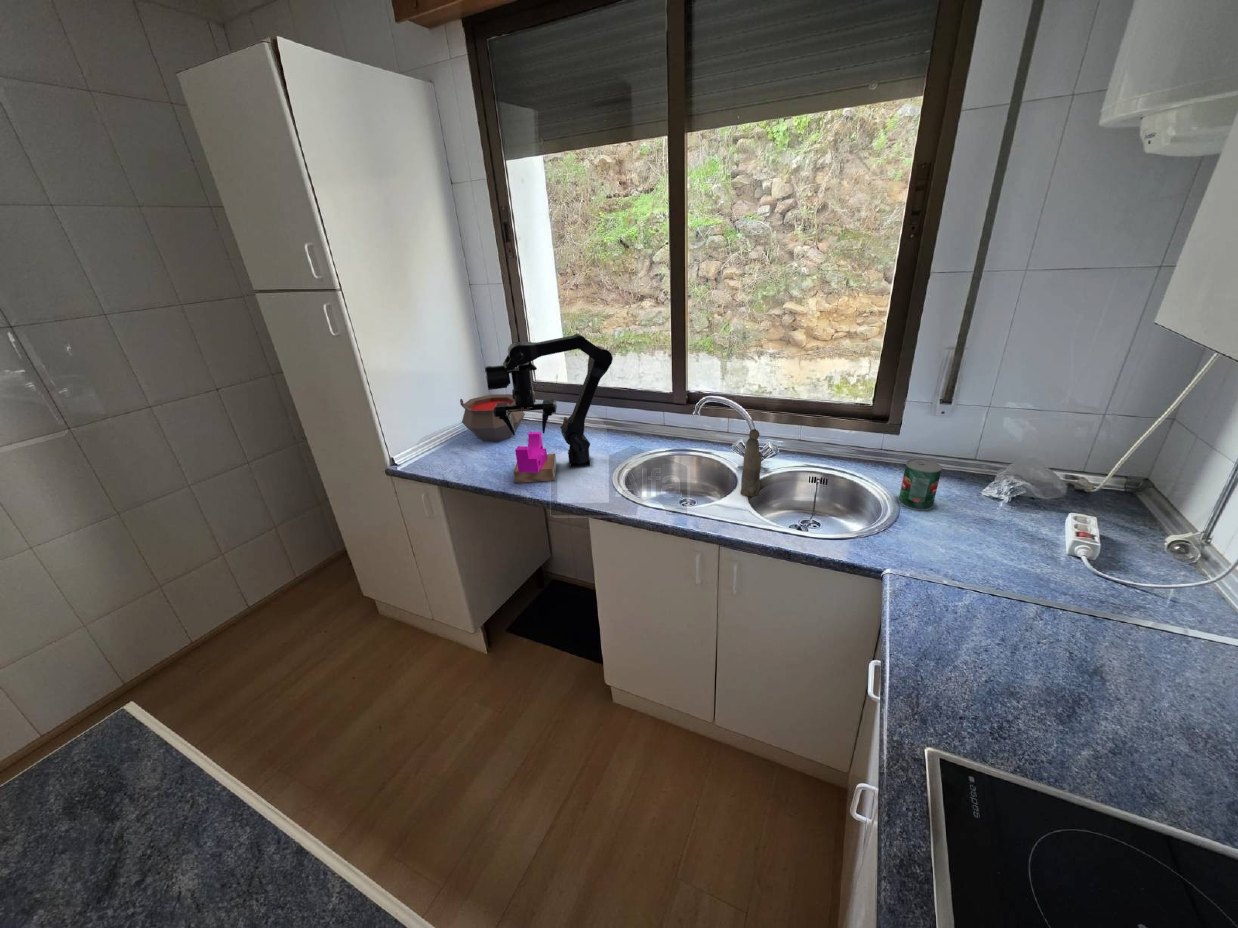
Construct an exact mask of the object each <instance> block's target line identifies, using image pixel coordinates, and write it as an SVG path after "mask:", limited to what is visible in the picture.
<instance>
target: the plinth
mask: <svg viewBox="0 0 1238 928" xmlns="http://www.w3.org/2000/svg"><path fill="white" fill-rule="evenodd" d="M514 466H515V467H514V470H513V478H514V483H515V484H521V483H522V484H524V483H536V482H537V483H539V482H552V481H555V477H556V471H557V455H556V453H547V460H546V462H545V463H544V465H543V466H542V468H541V469H540V471H539V472H519V471H518V465H517V462H516V463H515V465H514Z"/></svg>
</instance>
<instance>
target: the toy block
mask: <svg viewBox="0 0 1238 928" xmlns="http://www.w3.org/2000/svg"><path fill="white" fill-rule="evenodd" d="M527 437H528V438H527V439H528V441H527V446H524V445H522V446H521V445H520V446H519V445H518V446H517V447H516V448H515V449H514V451H515V457H516V463H517V465H518V471H519V472H539V471H540V469H541V468H542V466H543V465H544V463H545V462H546V460H547V454H548V453H547V452H548V451H547V448H544V445H543V444H544V443H543V435H542V431H529V432H528V434H527Z"/></svg>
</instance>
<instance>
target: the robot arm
mask: <svg viewBox="0 0 1238 928" xmlns="http://www.w3.org/2000/svg"><path fill="white" fill-rule="evenodd" d="M575 350H580V351H581V352H583V353H584V354H586V355H587V356H588V359H587V371H586V372H587V373H586V376H585V378H584V381H583V384H582V386H581V389H580V392H579V394H578V398H577V399H576V402H575V405H574V407H573V410H572V413H571V415H570V416H569V417H566V416H564V417H563V421H562V424H561V426H560V430H561V431H560V432H561V433H560V434H561V436H562V438H563V439H564V441H565V443H566V444H567V445H568V446H569V448H568V450H567V456H568V463H569V464H570V465H569V466H570V468H579V467H581V468H582V467H590V466H591V455H590V447H591V443H590V441H589V440H588V438H587V436H585V424H586V423H585V422H586V418H587V415H588V413H589V410H590V408H591V404H592V402H593V399H594V397H595V394H596V392H597V389H598V385H599V384H600V381H601V379H602V378H603V377H604V376H605V374H606V373H607V372H608V371H609V368H611V365H612V364H613V354H612V353H611V352H610V350H608V349H606V348H605V347H603V346H600V345H598V346H597V345H595V344H594V343H592V342H591V341H589V340H588V339H587V338H586V337H585V336H584V335H582V334H580V333H575V334H573V335H569V336H563V337H558V338H553V339H548V340H543V341H537V342H536V341H535V342H534V341H533V342H532V341H514V342H512V343H510V345H509V346H508V348H507V355H506V357H505V359H504V361H503V363H502V364H501V365H493V366H492V365H487V366H485V367H484V369H485V380H486V386H487V390H488V391H493V390H500V389H501V390H502V389H508V387H509V386H510V385H511V382H512V390H511V391H512V392H511V393H512V394H511V395H512V396H513V399H514V400H515V404H516V405H512V406H509V403H508V402H506V403H497V404H496V406H495V407H494V416H495V417H499V419H503V421H504V422H505V423H506V424H507V426H508V427H509V429H510V430H511V432H512V434H513V436H516V432H515V429H514V425H513V421H512V416H511V412H516V411H523V412H528V411H529V412H530V411H542V415H541V416H542V417H541V418H542V419H541V427H542V429H541V430H542V434H545V432H546V427H547V422H548V420H549V417H550V416H551V417H552V416H553V414H555V413H557V408H558V406H557V400H556V399H552V398H551V399H543V400H542V403H536V392H535V391H534V389H533V380H532V373H531V371H537V369H538V368H537V366H536V365H535V364H533V363H532V362H533V361H535V360H537V359H538V358H541V357H545V356H550V355H556V354H560V353H564V352H569V351H575ZM510 375H511V377H510Z"/></svg>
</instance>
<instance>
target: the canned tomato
mask: <svg viewBox="0 0 1238 928" xmlns="http://www.w3.org/2000/svg"><path fill="white" fill-rule="evenodd" d="M942 470H943V466H942V465H941V464H940V463H938V462H936V461H934V460H931V459H927V458H926V459H925V458H910V459H908V460H907V461H906V462H905V466H904V471H903V475H902V482H901V487H900V492H899V496H898V503H899V504H900V505H901V506H903V507H905V508H907V509H911V510H914V511H929V510H931V509H933V508H934V503H935V499H936V494H937V491H938V487H939V483H940V479H941V474H942Z"/></svg>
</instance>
